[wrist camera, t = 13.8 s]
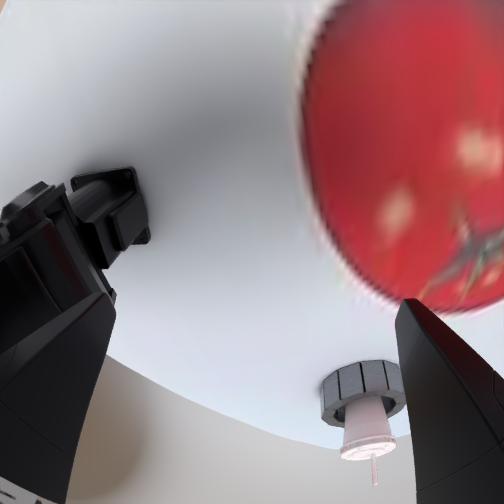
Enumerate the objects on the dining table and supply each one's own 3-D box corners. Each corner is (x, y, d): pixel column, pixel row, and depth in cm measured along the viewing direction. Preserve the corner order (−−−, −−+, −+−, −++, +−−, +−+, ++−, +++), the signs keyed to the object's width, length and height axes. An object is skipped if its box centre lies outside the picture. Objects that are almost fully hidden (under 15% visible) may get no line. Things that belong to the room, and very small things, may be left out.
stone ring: (316, 404, 35) (317, 429, 31) (327, 363, 29) (329, 393, 26) (387, 399, 34) (391, 422, 30) (411, 357, 28) (419, 384, 25)
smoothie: (369, 396, 33) (379, 489, 21) (328, 393, 33) (330, 493, 21) (394, 371, 30) (412, 475, 18) (349, 367, 30) (360, 482, 18)
